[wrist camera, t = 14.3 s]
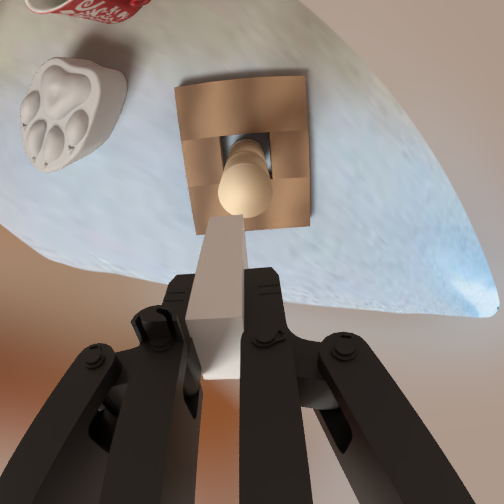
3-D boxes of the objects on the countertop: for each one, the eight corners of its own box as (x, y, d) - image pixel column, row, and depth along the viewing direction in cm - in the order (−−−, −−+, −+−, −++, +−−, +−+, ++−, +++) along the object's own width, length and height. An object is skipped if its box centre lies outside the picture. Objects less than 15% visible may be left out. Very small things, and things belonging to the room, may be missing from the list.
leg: (231, 172, 35) (221, 220, 23) (227, 140, 33) (214, 169, 21) (264, 169, 35) (274, 215, 23) (262, 136, 33) (270, 164, 21)
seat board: (198, 228, 38) (196, 235, 37) (178, 87, 29) (174, 87, 28) (307, 219, 38) (310, 226, 36) (301, 76, 29) (305, 75, 27)
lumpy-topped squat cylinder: (137, 77, 28) (105, 76, 21) (98, 170, 34) (64, 193, 27) (74, 54, 26) (33, 51, 18) (42, 142, 31) (3, 159, 24)
